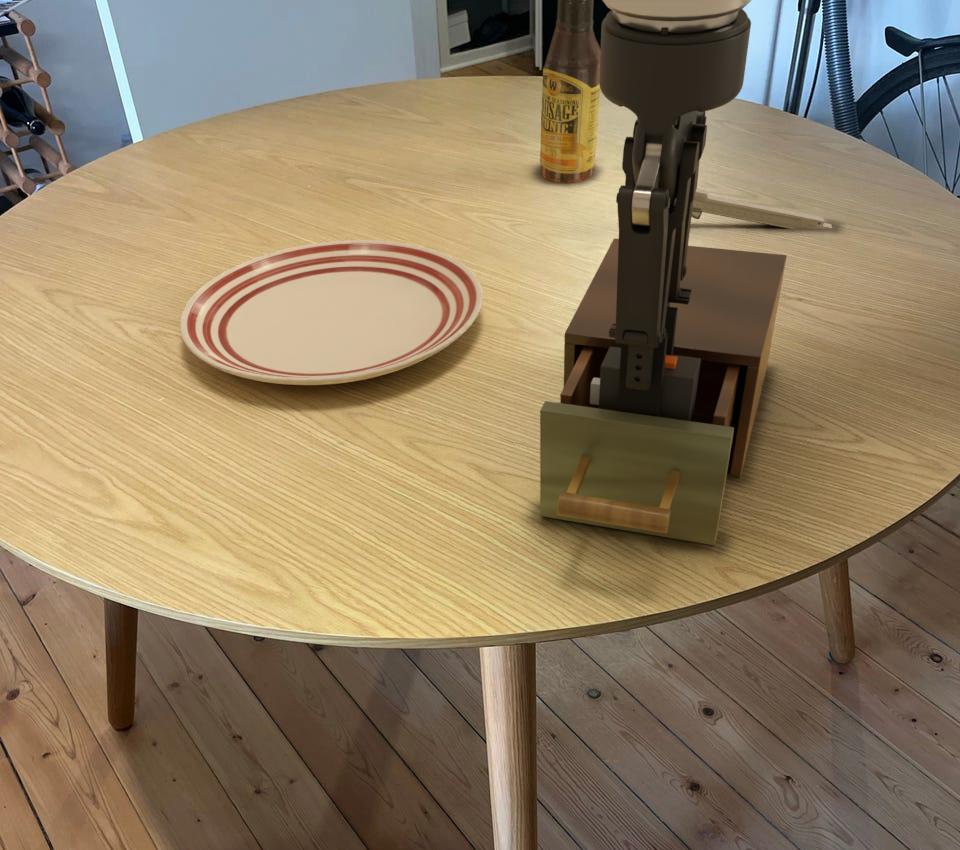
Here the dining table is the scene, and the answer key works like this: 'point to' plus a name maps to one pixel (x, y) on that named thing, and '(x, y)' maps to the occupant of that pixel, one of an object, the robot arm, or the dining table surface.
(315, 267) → the dinner plate
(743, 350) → the cabinet
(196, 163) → the dining table surface
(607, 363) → the dark grey block
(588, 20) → the sauce bottle
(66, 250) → the dining table surface
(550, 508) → the drawer
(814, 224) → the caliper
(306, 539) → the dining table surface
